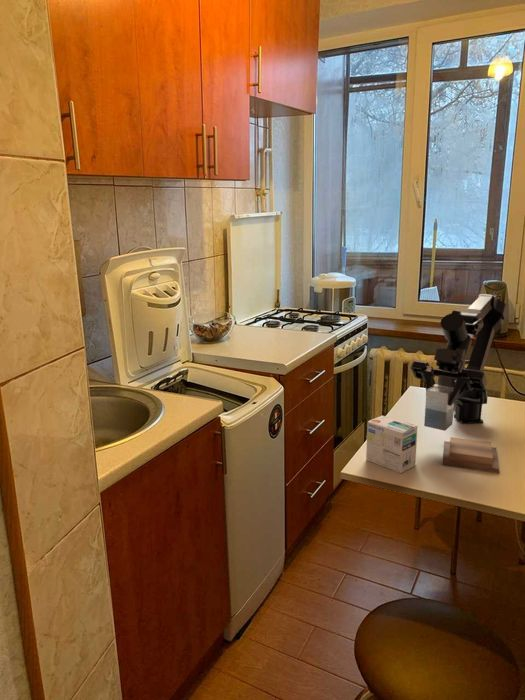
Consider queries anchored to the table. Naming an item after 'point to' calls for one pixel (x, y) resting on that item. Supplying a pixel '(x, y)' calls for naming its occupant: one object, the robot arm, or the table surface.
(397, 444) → the light bulb box
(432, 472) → the table surface
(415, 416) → the table surface
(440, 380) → the pump dispenser
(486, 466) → the walnut stand
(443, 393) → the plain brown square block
